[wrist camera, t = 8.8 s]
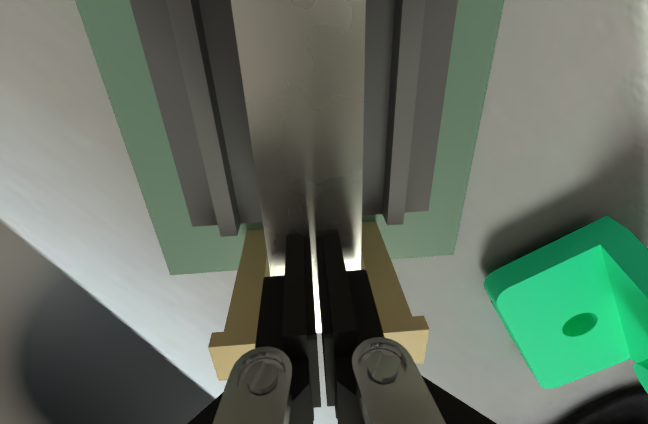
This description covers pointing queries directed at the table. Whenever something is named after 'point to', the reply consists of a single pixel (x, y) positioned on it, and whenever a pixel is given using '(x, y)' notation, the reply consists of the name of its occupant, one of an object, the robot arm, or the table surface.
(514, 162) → the table surface
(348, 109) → the retention strap
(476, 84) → the board
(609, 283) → the camera mount
